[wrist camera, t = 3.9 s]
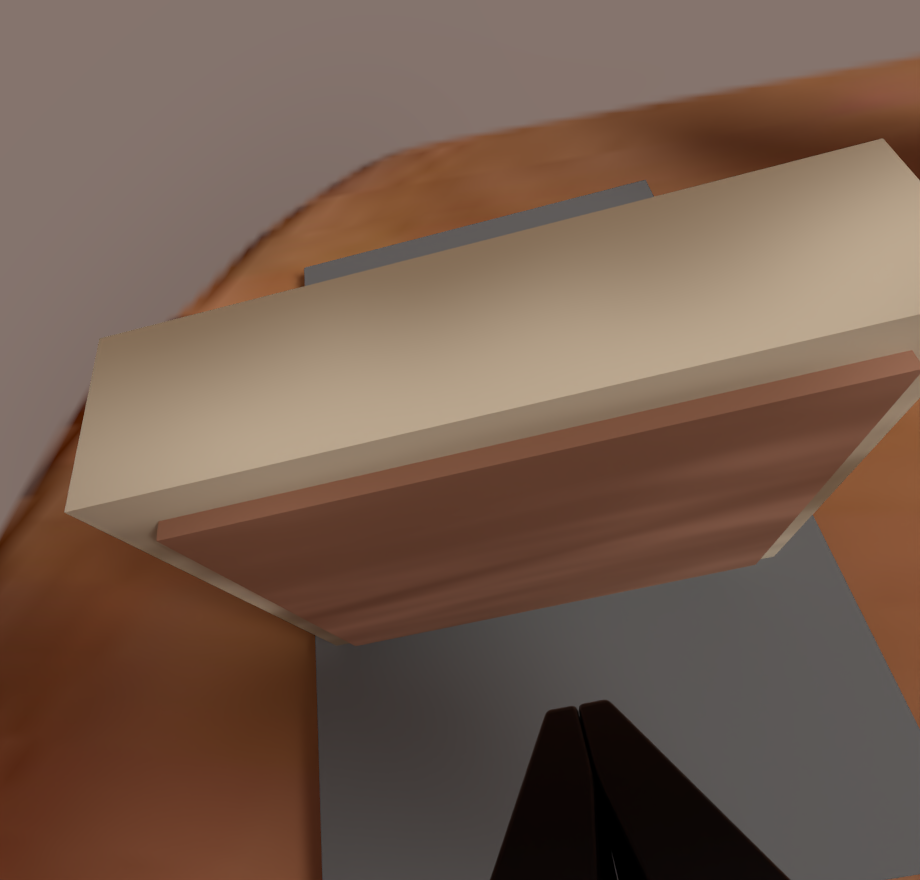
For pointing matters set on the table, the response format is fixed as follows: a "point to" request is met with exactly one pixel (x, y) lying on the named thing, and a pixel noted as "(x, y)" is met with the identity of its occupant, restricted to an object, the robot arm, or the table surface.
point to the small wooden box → (522, 406)
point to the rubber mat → (623, 699)
